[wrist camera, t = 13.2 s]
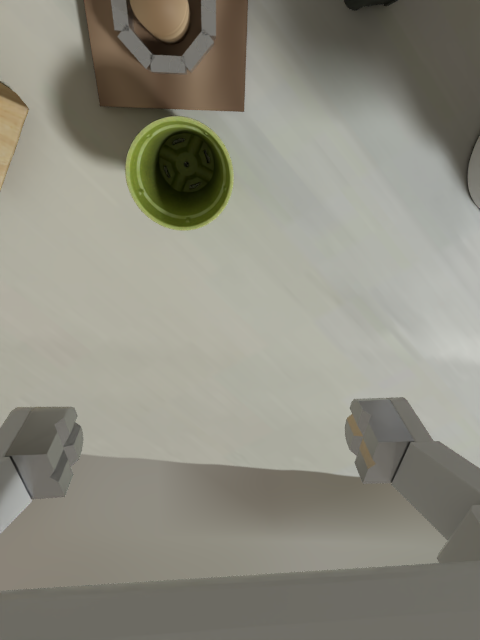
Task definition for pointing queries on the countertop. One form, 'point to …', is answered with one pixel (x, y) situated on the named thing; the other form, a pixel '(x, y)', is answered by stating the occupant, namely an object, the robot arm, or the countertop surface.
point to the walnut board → (171, 89)
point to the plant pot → (179, 173)
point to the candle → (366, 3)
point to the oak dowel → (164, 18)
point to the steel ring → (164, 62)
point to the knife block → (9, 126)
